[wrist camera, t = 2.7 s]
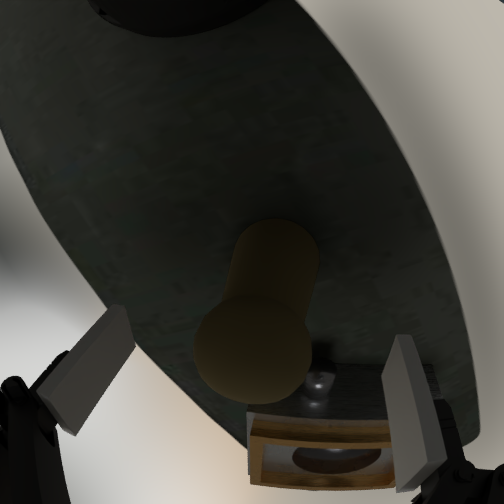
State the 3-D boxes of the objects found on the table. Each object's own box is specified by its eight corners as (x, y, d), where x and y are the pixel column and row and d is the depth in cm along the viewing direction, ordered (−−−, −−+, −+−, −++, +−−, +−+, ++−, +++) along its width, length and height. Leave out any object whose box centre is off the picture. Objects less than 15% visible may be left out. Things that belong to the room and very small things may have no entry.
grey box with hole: (260, 336, 24) (241, 409, 18) (441, 345, 22) (465, 411, 15) (257, 432, 31) (245, 486, 24) (390, 437, 28) (394, 490, 21)
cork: (216, 247, 22) (145, 353, 12) (287, 200, 19) (261, 294, 9) (266, 308, 23) (234, 431, 13) (336, 272, 21) (347, 399, 11)
